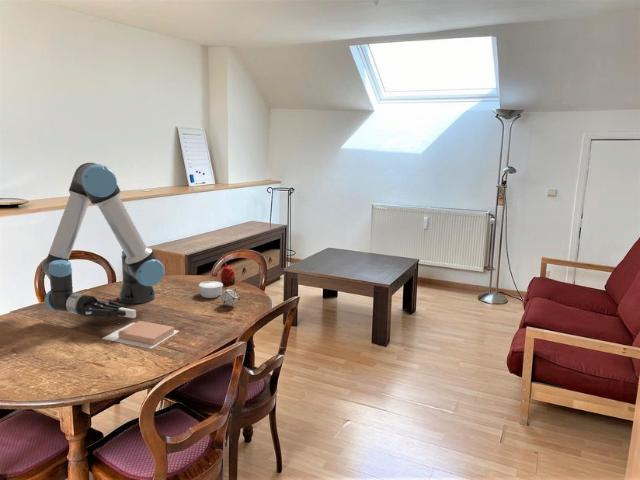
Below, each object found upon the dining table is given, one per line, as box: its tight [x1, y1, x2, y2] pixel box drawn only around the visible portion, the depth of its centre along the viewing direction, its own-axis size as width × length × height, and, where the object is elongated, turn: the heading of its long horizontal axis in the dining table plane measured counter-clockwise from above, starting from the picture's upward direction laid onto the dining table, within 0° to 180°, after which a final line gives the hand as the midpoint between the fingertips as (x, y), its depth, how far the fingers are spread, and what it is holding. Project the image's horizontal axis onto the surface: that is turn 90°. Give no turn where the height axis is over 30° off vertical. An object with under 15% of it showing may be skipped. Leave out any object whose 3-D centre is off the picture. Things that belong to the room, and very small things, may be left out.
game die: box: [217, 287, 241, 309], centre depth 216 cm, size 9×8×10 cm
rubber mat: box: [101, 322, 180, 349], centre depth 181 cm, size 21×17×1 cm
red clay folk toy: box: [220, 254, 236, 286], centre depth 247 cm, size 8×7×15 cm
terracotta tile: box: [118, 320, 175, 345], centre depth 180 cm, size 12×2×15 cm
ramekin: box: [198, 280, 224, 299], centre depth 230 cm, size 11×11×5 cm
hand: (134, 314), depth 180 cm, fingers closed
